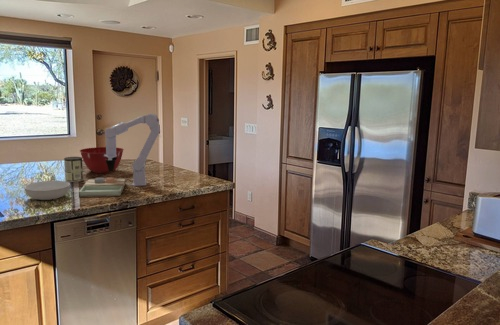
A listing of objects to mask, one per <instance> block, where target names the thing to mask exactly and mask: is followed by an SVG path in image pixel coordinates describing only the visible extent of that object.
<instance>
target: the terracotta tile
mask: <svg viewBox="0 0 500 325" xmlns="http://www.w3.org/2000/svg"><path fill="white" fill-rule="evenodd" d="M105 179H106V183H115V181H116V179H117V178H116V177H105Z"/></svg>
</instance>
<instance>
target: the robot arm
mask: <svg viewBox="0 0 500 325" xmlns="http://www.w3.org/2000/svg"><path fill="white" fill-rule="evenodd" d="M138 124H146V125H147V127H149V130H150V132H149V135H148V136H147V138H146V140H145V143H144V145H143V146H142V149H141V151H140V153H139V155H138V156H137V158H136V160H134V161H133V162H132V168H133V169H132V175H133V176H132V178H133V180H132V181H133V182H132V184H131V186H133V187H134V186H135V187H136V186H138V187H139V186H141V187H142V186H147V181H146V179H147V178H146V167H145V166H146V165H147V164H146V163H147V162H146V161H147V159H148V156H149V154H150V152H151V151H152V148H153V146H154V144H155V142H156V140H157V138H158V136H159V134H160V132H161V129H160V128H161V127H160V119H159V117H158V115H156V113H153V112H151V113H149V114H146V115H141V116H138V117H136V118H134V119H132V120H129V121H127V122H125V121H120V122H118V123H117V124H115V125H111V127H108V128H106V129H105V130H104V135H105V147H106V155H104V156H106V157H107V159H108V160H105V161H106V163H107V166H108V170H109V171H113V169H114V166H115V161H116V159H117V157H116V156H117V155H116V148H117V136H119V135H120V134H123V133H126V132H128V130H129V128H131V127H134V126H136V125H138ZM113 172H114V171H113Z"/></svg>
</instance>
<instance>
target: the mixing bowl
mask: <svg viewBox="0 0 500 325" xmlns="http://www.w3.org/2000/svg"><path fill="white" fill-rule="evenodd" d="M124 150H125V149H124V148H123V147H116V155H117V156H116V157H117V159H116V161H115V166H114V169H113V171H109V170H108V166H107V163H106V161H105V160H108V159H107V157H106V156H104V155H106V146H105V147H104V146H103V147H98V146H97V147H95V146H94V147H87V148H81V149H80V150H79V153H80V154H81V157H82V161H83V162H84V165H85V166H86V168H87V169H88V170H89V171H91V172H93V173H94V174H107V173H108V174H109V173H112V172H114V171H115V170H117V168H118V167H119V165H120V163H121V160H122V158H123V153H124Z"/></svg>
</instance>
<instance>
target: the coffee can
mask: <svg viewBox="0 0 500 325" xmlns="http://www.w3.org/2000/svg"><path fill="white" fill-rule="evenodd" d="M63 160H64V162H63V163H64V178H65V180H64V181H65V182H68V183H77V182H81V181H84V171H83V158H82V156H68V157H67V156H66V157H64V158H63Z"/></svg>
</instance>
